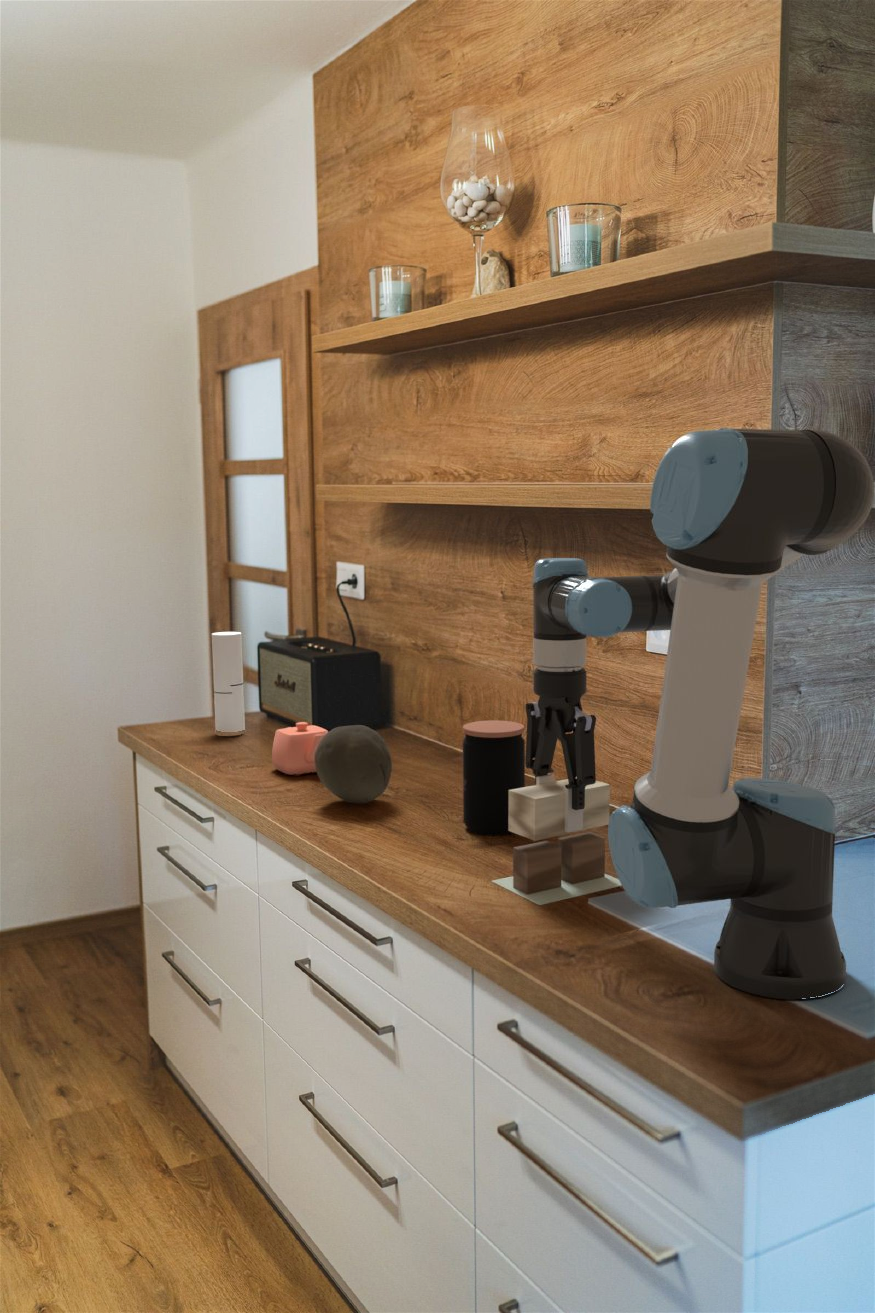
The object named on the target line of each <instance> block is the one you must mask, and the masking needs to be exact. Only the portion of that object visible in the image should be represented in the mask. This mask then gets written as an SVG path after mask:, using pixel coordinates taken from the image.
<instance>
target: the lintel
mask: <svg viewBox="0 0 875 1313" xmlns="http://www.w3.org/2000/svg"><path fill="white" fill-rule="evenodd" d="M576 778H577V776H576ZM568 784H569V782H568V778H567V779H562V780H557V781H556V780H554V782H549V783H544V784H539V785H535V784H534V785H529V786H525V787H523V788H517V789H512V790H509V813H508V831H510V832H513V833H512V834H516V835H519V836H520V837H524V838H527V839H530V840H531V841H533V842H537V841H540V840H545V839H549V838H550V839H551V838H553V837H558V836H563V835H569V834H573V833H576V832H581V831H587V830H590V829H594V828H599V827H603V826H609V820H610V808H611V807H610V803H611V802H610V801H611V800H610V796H611V795H610V792H611V785H610V784H609V783H606V782H602V781H600V780H599V781H598V780H596V782H595V784H591V785H587V786H586V787H585V807H584V809H583V830H578V831H573V832H565V785H568Z"/></svg>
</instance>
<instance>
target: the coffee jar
mask: <svg viewBox="0 0 875 1313" xmlns="http://www.w3.org/2000/svg"><path fill="white" fill-rule="evenodd" d="M462 732H463V734H465V736H464V738H463V740H462V802H463V803H462V805H463V807H462V808H463V811H462V813H463V816H462V817H463V818H462V819H463V823H464V825H465V827H466V828H467V830H468V831H470V832H472V833H474V834H478V835H483V836H484V835H485V836H505V835H510V834H514V833H513V832H510V831H508V813H509V790H512V789H517V788H523V787H526V786H525V785H526V784H525V783H526V782H525V780H526V775H525V774H526V772H525V770H526V765H525V759H526V742H525V741H526V740H525V739H524V738H523V737H522V734H524V732H525V726H524V724H522V723H520V722H516V721H511V720H510V721H509V720H497V719H495V720H492V719H491V720H480V721H479V720H477V721H476V720H475V721H473V722H468V723H465V724H463V726H462Z"/></svg>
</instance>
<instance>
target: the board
mask: <svg viewBox="0 0 875 1313" xmlns="http://www.w3.org/2000/svg"><path fill="white" fill-rule="evenodd" d="M491 882H492V883H493V884H496V885H498V886H500V887H502V888H504V889H506V890H508V891H510V892H512V893H514V894H516V895H518V896H519V897H522V898H524V899H526V900H528V901H530V902H532V903H534V904H536V905H538V906H542V905H547V904H551V903H555V902H559V901H563V900H566V899H572V898H575V897H580V896H584V895H588V894H589V895H590V894H593V893H597V892H602V891H605V890H610V889H614V888H618V887H622V885H621V883H620V881H619V879H618V877H614V876H612V875H609V874H607V873H605V877H602V878H598V879H594V880H589V881H585V882H581V883H576V884H570V883H568V882H566V881H564V880H562V879H561V887H559V888H555V889H550V890H546V891H541V892H537V893H533V894H528V895H527V894H525V893H523V892H521V891H519V890H517V889H515V888H513V875H512V876H508V877H502V878H497V879H493V880H491Z"/></svg>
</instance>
